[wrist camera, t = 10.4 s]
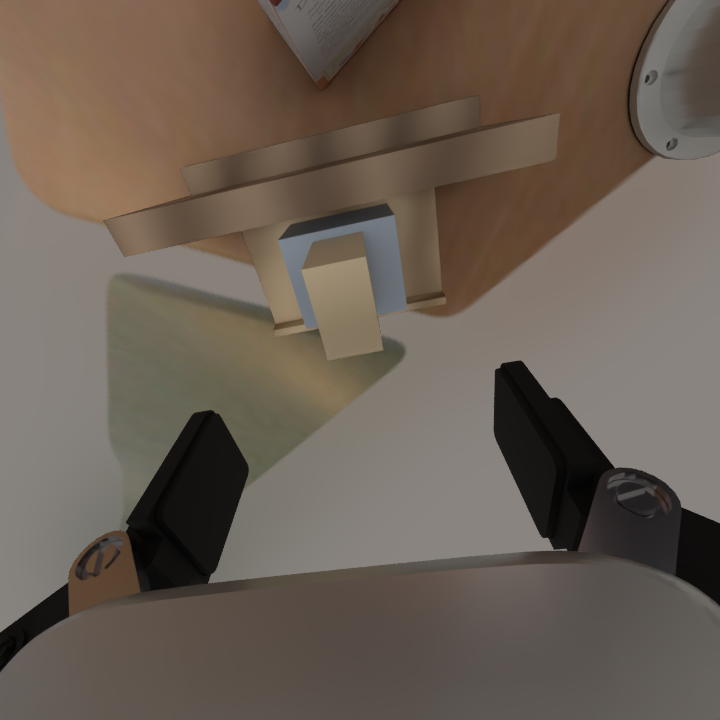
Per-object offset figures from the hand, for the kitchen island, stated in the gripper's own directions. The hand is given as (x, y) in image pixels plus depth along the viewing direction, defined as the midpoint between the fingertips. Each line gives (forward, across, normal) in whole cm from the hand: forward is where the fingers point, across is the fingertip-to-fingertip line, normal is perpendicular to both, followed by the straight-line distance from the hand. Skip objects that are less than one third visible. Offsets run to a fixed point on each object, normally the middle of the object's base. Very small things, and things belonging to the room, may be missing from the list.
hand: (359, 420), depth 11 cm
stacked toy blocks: (+17, +1, -1) cm, 17 cm away
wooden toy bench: (+24, +1, -3) cm, 24 cm away
